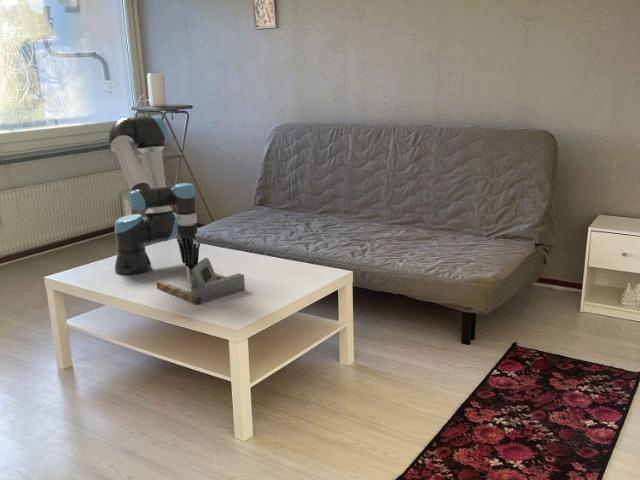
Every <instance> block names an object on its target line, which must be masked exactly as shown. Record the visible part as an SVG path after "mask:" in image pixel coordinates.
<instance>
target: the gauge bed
mask: <svg viewBox="0 0 640 480" xmlns="http://www.w3.org/2000/svg"><path fill="white" fill-rule="evenodd" d="M215 274H216V277H217V279H221V278H225V277H226V276H224V275H221V274H218V273H215ZM242 286H243V285H242ZM156 288H157V289H158V290H161V291H163V292H166V293H168V294H169V295H170V294H171V295H174V296H175V297H178V298H179V299H183V300H185V301H187V302H189V303H192V304H195V305H196V304H197V305H200V304H201V303H200V302H201V298H200V297H198V298H195V297H193V298H192V295H191V291H189V290H185V289H184V288H180V287H178V286H175V285H173V284H170V283H168V282H166V281H163V280H158V281H156ZM243 289H244V288H242V291H245V290H246V288H245V289H244V290H243ZM192 299H193V300H194V299H195V300H196V301H195V300H194V301H193V300H192ZM198 299H199V300H198ZM199 301H200V302H199Z"/></svg>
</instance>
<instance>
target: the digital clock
mask: <svg viewBox="0 0 640 480" xmlns="http://www.w3.org/2000/svg"><path fill="white" fill-rule="evenodd" d="M191 273H192V275H193V277H194V279H193V280H192V282H191V283H190V284H191V287H193V286H197V285H200V284H204V283H207V282H211V281H214V280H218V279H217V277H216V274H217V273H216V274H215V270H214V268H213V265H212V264H211V261H210V259H209V258H208V257H205V258H203V259H202V260H200V261H198V264H197V265H196V266H195V267H194V268H193V269H192V270H191Z"/></svg>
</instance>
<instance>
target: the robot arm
mask: <svg viewBox="0 0 640 480" xmlns="http://www.w3.org/2000/svg"><path fill="white" fill-rule="evenodd" d="M108 133H109V134H108V143H109V147H110V148H111V151H113V152H114V153H115V155H116V158H117V160H118V162H119V165H120V168H121V170H122V173H123V175H124V177H125V180H126V182H127V185H128V187H129V190H130V191H128V193H127V202H128V205H129V207H130V209H131V210H132V211H139V210H142V211H143V210H146V211H145V216H143V215H142V214H140V213H136V214H134V213H133V214H128V215H124V216H121V217H119V218H117V219H116V221H115V222H114V234H115V242H116V250H117V255H116V258H115V259H116V260H115V264H114V271H115V273H116V274H119V275H136V274H142V273H145V272H147V271H150V270H151V269H152V262H151V260H150V258H149V255H148V252H147V251H146V245H148V244H155V243H159V242H160V243H161V242H168V241H171V240H175V239H176V238H177V237H178V235H179V236H180V238H177V240H176V242H177V244H178V248H179V253H180V256H181V262H182V264H184V265H185V266H186V267H185V268H186V279H187V283H189V284H191V282H192V280H193V279H194V277H193V275H192V273H191V270H192V269H193V268H194V267H195V266H196V265H197V264H198V263H199V255H200V247H201V243H200V242H198V243H197V238H196V234H197V233H198V225H197V222H198V218H197V211H196V210H197V209H196V208H197V207H196V192H195V186H194V184H193V183H187V182H184V183H183V182H182V183H176V184H169V185H166V183H167V182H166V177H165V176H166V175H165V167H164V162H163V161H164V159H163V152H162V151H163V150H164V148H165V147H166V146H165V144H166V143H168V140H169V134H168V133H169V131H168V128H167V125H166V123H165V121H164V119H163V117H161V116H159V115H145V116H131V117H129V116H128V117H123V118H120V119H118V120H117V121H116V122H114V123H113V125H112V126H111V128H110V130H109V132H108ZM134 146H136V150H137V151H139V152H140V155H141V162H142V164H141V162H140V158H139V157H138V154H137V152H136V150H135V147H134ZM170 206H175V212H174V210H173V209H172V208H171V207H170Z"/></svg>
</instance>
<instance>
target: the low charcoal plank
mask: <svg viewBox="0 0 640 480" xmlns="http://www.w3.org/2000/svg"><path fill="white" fill-rule="evenodd" d="M224 277H225V278H221V279H218V280H214V281H211V282H207V283H204V284H200V285H197V286H193V287H192V286H191V287H190V292H191V295H192V298H193V297H195V298H198V297H200V298H201V302H200V301H199V302H200V304H205V303H206V302H210V301H213V300H217V299H219V298H223V297H226V296H229V295H231V294H235V293H239V292H242V291H245V290H246V285H245V274H243V273H239V272H238V273H236V274H233V275H228V276H224ZM242 285H243V286H242ZM242 288H244V289H245V290H244V289H243V290H242ZM192 300H193V299H192ZM194 300H195V299H194ZM194 300H193V301H194ZM198 300H199V299H198ZM195 301H196V300H195ZM195 305H198V304H195Z"/></svg>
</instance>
